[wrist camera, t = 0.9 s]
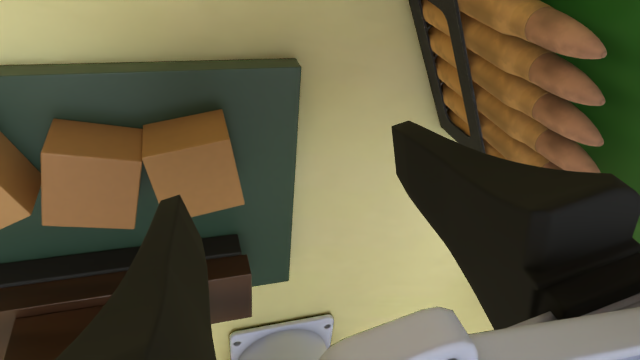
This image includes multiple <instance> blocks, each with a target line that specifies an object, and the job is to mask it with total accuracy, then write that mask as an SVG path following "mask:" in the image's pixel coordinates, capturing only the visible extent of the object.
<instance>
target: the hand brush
mask: <svg viewBox="0 0 640 360" xmlns="http://www.w3.org/2000/svg"><path fill="white" fill-rule="evenodd" d="M202 242H203V247H204V252H205V257H206V262H207V270H208V285H209V301H210V318H211V324H214V323H220V322H225V321H231V320H237V319H242V318H248V317H252V274H251V269H250V265H249V261H248V256H247V254H244V255H242V252H241V247H240V242H239V238H238V235H237V234H234V235H226V236H218V237H210V238H202ZM140 247H141V246H139V247H131V248H123V249H115V250H107V251H99V252H91V253H83V254H76V255H68V256H60V257H52V258H44V259H36V260H28V261H20V262H12V263H4V264H0V360H55V359H56V358H57V357H58V356H59V355H60V354H61V353H62V352H63V351H64V350H65V349H66V348H67V347H68V346H69V345H70V344H71V343H72V342H73V341H74V340H75V339H76V338H77V337H78V336H79V335H80V334H81V333H82V331H83V330H84V329H85V328H86V327H87V326H88V325H89V324H90V322H91V321H92V320H93V319H94V318H95V316H96V315H97V314H98V313H99V311H100V310H101V309H102V307H103V306H104V305H105V304H106V302H107V301H108V300H109V299H110V297H111V296H112V294H113V293H114V292H115V290H116V289H117V287H118V286H119V284H120V283H121V281H122V280H123V278H124V276H125V275H126V273H127V271H128V269H129V267H130V266H131V264H132V262H133V260H134V258H135V256H136V255H137V253H138V251H139V249H140Z"/></svg>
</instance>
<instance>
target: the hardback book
mask: <svg viewBox="0 0 640 360" xmlns="http://www.w3.org/2000/svg"><path fill="white" fill-rule="evenodd" d="M540 1H542V2H544V3H546V4H548V5H550V6H551V7H553V8H554V9H556V10H558V11H560V12H563V13H565V14H567V15H569V16H570V17H572V18H573V19H575V20H577V21H578V22H580V23H581V24H583V25H584V26H585V27H587V28H588V29H589V30H591V31H592V32H593V33H594V34H595V35H596V36H597V37H598V38H599V39H600V40H601V42H602V43H603V45H604V46H605V48H606V51H607V55H606V57H604V58H601V59H581V58H574V57H569V56H565V55H561V54H558V53H556V54H557V55H558V56H560V57H561V58H563V59H565V60H567V61H568V62H570V63H572V64H573V65H574V66H576V67H577V68H579V69H580V70H581V71H583V72H584V73H585V74H586V75H587V76H588V77H589V78H590V79H591V80H592V81H593V82H594V83H595V84H596V85H597V86H598V88H599V89H600V90H601V92H602V94H603V96H604V98H605V104H604V105H601V106H589V105H583V104H579V103H575V102H572V101H569V102H570V103H572V104H573V105H574V106H576V107H577V108H578V109H579V110H580V111H582V112H583V113H584V114H585V115H586V116H587V117H588V118H589V119H590V120H591V122H592V123H593V124H594V125H595V126H596V128H597V129H598V131H599V132H600V134H601V136H602V138H603V140H604V144H603V145H602V146H599V147H598V146H589V145H585V144H582V143H579V142H577V143H578V144H579V145H580V146H581V147H582V148H583V149H584V150H585V151H586V152H587V153H588V155H589V156H590V157H591V158H592V160H593V161H594V162H595V164H596V165H597V167H598V168H599V170H600V172H601V173H611V174H613V175H614V176H616V177H617V178H619V179H620V180H621V181H623V182H624V183H626V184H627V185H628V186H630V187H631V188H633V189H634V190H635V191H636V192H637V193H638V194H639V195H640V0H540ZM554 53H555V52H554ZM567 101H568V100H567ZM575 142H576V141H575ZM632 238H633V239H635V240H636V241H637V242H638V243H639V244H640V216H639V219H638V222H637V225H636V228H635V230H634V233H633V236H632ZM639 253H640V252H639Z"/></svg>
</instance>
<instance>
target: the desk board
mask: <svg viewBox="0 0 640 360" xmlns="http://www.w3.org/2000/svg"><path fill="white" fill-rule="evenodd" d="M300 80H301V66H300V65H299V63H298V62H297V60H296V59H255V60H215V61H175V62H135V63H95V64H55V65H15V66H0V131H1V132H2V133H3V135H4V136H5V137H6V138H7V139H8V140H9V141H10V142H11V143H12V144H13V145H14V146H15V147H16V148H17V149H18V150H19V151H20V152H21V153H22V154H23V155H24V156H25V157H26V158H27V159H28V160H29V161H30V163H31V164H32V165H33V166H34V167H35V168H36V169H37V170H38V171H39V172H40V173H41V154H40V153H41V150H42V148H43V145H44V142H45V139H46V137H47V134H48V131H49V129H50V126H51V123H52V120H53V119H63V120H71V121H80V122H88V123H97V124H105V125H114V126H122V127H131V128H139V129H143V125H146V124H151V123H156V122H160V121H165V120H170V119H175V118H180V117H185V116H190V115H195V114H200V113H205V112H209V111H214V110H219V109H222V110H223V114H224V118H225V122H226V126H227V130H228V134H229V138H230V142H231V146H232V150H233V155H234V159H235V163H236V168H237V172H238V176H239V180H240V185H241V189H242V193H243V198H244V202H245V204H244V205H240V206H236V207H232V208H228V209H223V210H219V211H215V212H211V213H207V214H203V215H199V216H195V217H191V218H192V220H193V222H194V224H195V226H196V228H197V230H198V232H199V234H200V236H201V238H210V237H218V236H226V235H234V234H237V235H238V238H239V242H240V247H241V252H242V255H244V254H247V256H248V261H249V265H250V269H251V274H252V287H253V286H259V285H266V284H272V283H278V282H285V281H289V266H290V249H291V232H292V215H293V198H294V181H295V164H296V147H297V131H298V114H299V97H300ZM158 205H159V203H158V200H157V198H156V195H155V192H154V190H153V187H152V185H151V182H150V179H149V177H148V174H147V171H146V169H145V166H144V163H143V161H142V170H141V179H140V187H139V196H138V205H137V214H136V223H135V228H134V229H112V228H86V227H61V226H43V225H42V213H41V187H40V190H39V193H38V196H37V199H36V202H35V205H34V208H33V211H32V214H31V216H29V217H26V218H24V219H22V220H20V221H18V222H16V223H13V224H11V225H9V226H7V227H5V228H2V229H0V264H4V263H12V262H20V261H28V260H36V259H44V258H52V257H60V256H68V255H76V254H83V253H91V252H99V251H107V250H115V249H123V248H131V247H139V246H141V244H142V242H143V240H144V238H145V236H146V234H147V231H148V229H149V227H150V224H151V222H152V220H153V217H154V215H155V212H156V210H157V208H158Z"/></svg>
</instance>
